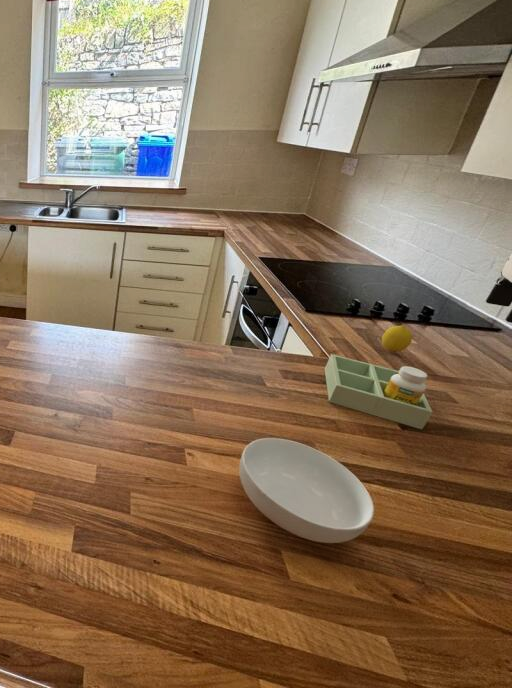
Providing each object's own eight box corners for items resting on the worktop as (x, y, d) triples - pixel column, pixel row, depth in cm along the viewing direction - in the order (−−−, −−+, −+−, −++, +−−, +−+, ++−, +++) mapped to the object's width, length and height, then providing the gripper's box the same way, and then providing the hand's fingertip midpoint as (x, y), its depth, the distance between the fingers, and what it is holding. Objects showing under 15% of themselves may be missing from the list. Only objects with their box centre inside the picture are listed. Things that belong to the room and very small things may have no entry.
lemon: (386, 355, 107) (399, 329, 104) (372, 345, 112) (384, 320, 109) (409, 358, 107) (423, 331, 103) (394, 347, 111) (407, 322, 108)
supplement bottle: (403, 404, 88) (424, 367, 84) (416, 419, 83) (438, 381, 79) (373, 397, 90) (392, 362, 85) (384, 412, 85) (404, 375, 81)
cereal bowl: (213, 464, 72) (223, 435, 69) (306, 468, 72) (321, 438, 69) (267, 558, 57) (283, 525, 54) (385, 563, 57) (408, 530, 54)
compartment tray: (405, 391, 93) (414, 374, 91) (422, 429, 82) (432, 412, 80) (324, 369, 101) (331, 353, 99) (328, 401, 89) (336, 385, 87)
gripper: (629, 239, 60) (560, 338, 68) (569, 218, 73) (516, 302, 81) (554, 231, 64) (496, 325, 71) (509, 212, 77) (464, 293, 84)
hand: (506, 313), depth 76 cm, fingers open, 9 cm apart
